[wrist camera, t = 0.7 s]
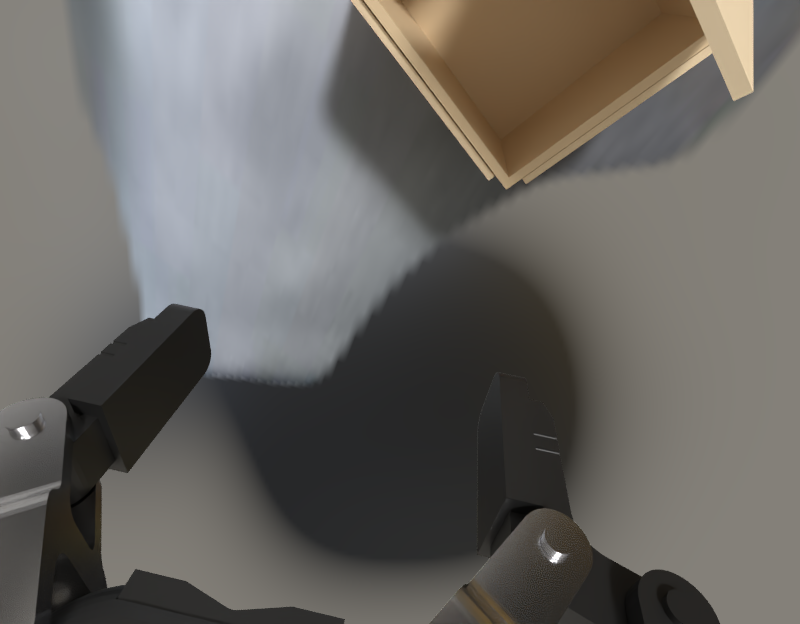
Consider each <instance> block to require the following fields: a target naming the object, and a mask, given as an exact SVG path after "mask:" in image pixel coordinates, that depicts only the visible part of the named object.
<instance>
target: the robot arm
mask: <svg viewBox="0 0 800 624" xmlns="http://www.w3.org/2000/svg"><path fill="white" fill-rule="evenodd" d="M210 359H211V348H210V342H209V336H208V329H207V323H206V317H205V313H204V311H203V310H201V309H197V308H193V307H188V306H183V305H178V304H171V305H169V306H168V307H167V308H165V309H164V310H163V311H162V312H161V313H160V314H159V315H158V316H157V317H156V318H155V319H152V318H148V319H146V320H143V321H141V322H139V323H137V324H135V325H133V326H131V327H129V328H128V329H127V330H125V331H124V332H123V333H122V334H121V335H120V336H119V337H117V338H116V339H115V340H114V343H113V344H109V345H108V346H107V347H106V348H105V349H104V350H103V351H101V354H100V355H97V356H96V357H95V358H93V359H92V360H91V361H90V362H89V363H88V364H87V365H85V366H84V367H83V368H82V369H81V370H80V371H79V372H77V373H76V374H75V375H74V376H73V377H72V378H71V379H69V380H68V381H67V382H66V383H65V384H64V385H63V386H62V387H60V388H59V389H58V390H57V391H56V392H55V393H54V394H52V395H51V396H50V397H49V398H48V397H39V398H32V399H27V400H23V401H20V402H17V403H14V404H12V405H10V406H8V407H6V408H4V409H2V410H1V411H0V624H344V620H345V619H341V618H337V617H333V616H329V615H325V614H321V613H316V612H312V611H308V610H304V609H300V608H295V607H283V608H282V607H281V608H266V609H250V610H231V609H229V608H227V607H225V606H224V605H222V604H220V603H219V602H217V601H216V600H214V599H213V598H211V597H209V596H208V595H207V594H205V593H203V592H202V591H200V590H199V589H197V588H196V587H194V586H192V585H191V584H189V583H188V582H186V581H183V580H179V579H174V578H170V577H166V576H162V575H158V574H153V573H149V572H145V571H141V570H137V569H136V570H135V571H134V572H133V574H132V575H131V577H130V579H129V581H128V582H127V583H126V585H121V586H116V587H110V588H107V583H106V577H105V573H104V569H103V565H102V555H101V528H102V527H101V526H102V524H101V523H102V486H101V482H100V478H101V477H102V476H103V475H104V473H105V472H106V471H107V470H108V469H113V470H117V471H121V472H125V473H128V472H129V471H130V469H131V468H132V467H133V465H134V464H135V463H136V461H137V460H138V459H139V458H140V456H141V455H142V454H143V453H144V451H145V450H146V449H147V447H148V446H149V445H150V443H151V442H152V441H153V440H154V438H155V437H156V436H157V434H158V433H159V432H160V431H161V429H162V428H163V427H164V425H165V424H166V423H167V421H168V420H169V419H170V418H171V416H172V415H173V414H174V412H175V411H176V410H177V409H178V407H179V406H180V405H181V404H182V402H183V401H184V400H185V398H186V397H187V396H188V395H189V393H190V392H191V391H192V389H193V388H194V387H195V386H196V384H197V383H198V382H199V380H200V379H201V378H202V377H203V375H204V374H205V372H206V371H207V369H208V366H209V363H210ZM556 438H557V435H556V430H555V425H554V419H553V418H552V416H551V415H550V413H549V411H548V410H547V408H546V407H545V405H544V404H543V402H540V401H535V400H530V399H529V394H528V386H527V381H526V379H525V378H522V377H518V376H513V375H508V374H503V373H499V372H497V373H496V374H495V376H494V378H493V381H492V384H491V386H490V389H489V392H488V394H487V397H486V400H485V403H484V406H483V408H482V411H481V414H480V418H479V424H478V440H477V442H478V443H477V459H478V461H477V555H480V556H485V557H489V558H490V559H489V560H488V561H487V563H486V564H485V565H484V566H483V567H482V568H481V569H480V571H479V572H478V573H477V574H476V575H475V577H474V578H473V579H472V580H471V581H470V582H469V583H468V584H465V585H463V586H462V587H461V588H460V589H459V590H458V591H457V592H456V593H455V594H454V595H453V596H452V598H451V599H450V600H449V601H448V602H447V603H446V605H445V606H444V607H443V608H442V610H440V612H439V613H438V614H437V615H436V616H435V617H434V618H433V620H432V621H431V622H430V623H429V624H720V623H719V620H718V618H717V616H716V614H715V612H714V610H713V608H712V607H711V605H710V604H709V603H708V601H707V600H706V599H705V597H704V596H703V595H702V594H701V593H700V592H699V591H698V590H697V589H696V588H695V587H694V586H693V585H691V584H690V583H689V582H688V581H686V580H685V579H683V578H681V577H680V576H678V575H676V574H674V573H672V572H669V571H665V570H651V571H649V572H647V573H645V574H644V575H643V576H642V577H641V576H639V575H638V574H636V573H634V572H632V571H630V570H629V569H627V568H625V567H623V566H621V565H619V564H618V563H616V562H614V561H612V560H610V559H608V558H607V557H605V556H604V555H602V554H601V553H599V552H598V551H597V550H595V549H594V548H593V547H592V546H591V545H590V543H589V541H588V539H587V536H586V535H585V533H584V532H583V530H582V529H581V528H580V527H579V526H578V525H577V524H576V523H575V522H574V521H573V518H572V515H571V510H570V505H569V499H568V494H567V489H566V483H565V478H564V473H563V468H562V462H561V457H560V456H559V452H560V451H559V446H558V441H556Z"/></svg>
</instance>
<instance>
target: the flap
mask: <svg viewBox="0 0 800 624" xmlns="http://www.w3.org/2000/svg"><path fill="white" fill-rule="evenodd" d="M690 2H691V4H692V7H693V9H694V11H695V14H696V16H697V18H698V21H699V23H700V25H701V27H702V30H703V32H704V34H705V37H706V39H707V41H708V44H709V46H710V48H711V50H712V53H713V55H714V57H715V60H716V62H717V64H718V67H719V69H720V71H721V73H722V76H723V78H724V80H725V83H726V85H727V87H728V90H729V92H730V94H731V96H732V99H733V101H735V100H737V99H739V98H741V97H743V96H746V95H748V94H750V93H752V92H753V0H690Z"/></svg>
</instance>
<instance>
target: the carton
mask: <svg viewBox="0 0 800 624" xmlns="http://www.w3.org/2000/svg"><path fill="white" fill-rule="evenodd" d="M351 1H352V3H353V4H354V5H355V7H356V8H357V9H358V11H359V12H360V13H361V14H362V16H363V17H364V18H365V20H366V21H367V22H368V24H369V25H370V26H371V28H372V29H373V30H374V31H375V33H376V34H377V35H378V37H379V38H380V39H381V41H382V42H383V43H384V45H385V46H386V47H387V48H388V50H389V51H390V52H391V54H392V55H393V56H394V58H395V59H396V60H397V61H398V63H399V64H400V65H401V67H402V68H403V69H404V71H405V72H406V73H407V75H408V76H409V77H410V78H411V80H412V81H413V82H414V84H415V85H416V86H417V88H418V89H419V90H420V92H421V93H422V94H423V95H424V97H425V98H426V99H427V101H428V102H429V103H430V105H431V106H432V107H433V109H434V110H435V111H436V112H437V114H438V115H439V116H440V118H441V119H442V120H443V122H444V123H445V124H446V126H447V127H448V128H449V129H450V131H451V132H452V133H453V135H454V136H455V137H456V139H457V140H458V141H459V143H460V144H461V145H462V146H463V148H464V149H465V150H466V152H467V153H468V154H469V156H470V157H471V158H472V159H473V161H474V162H475V163H476V165H477V166H478V167H479V169H480V170H481V171H482V173H483V174H484V175H485V176H486V178H487V179H488V180H490V179H492V178H493V177H494V174H495V175H496V177H497V178H498V179H499V181H500V182H501V183H502V185H503V186H504V187H505V189H506V190H507V189H508V188H509V187H511V186H512V185H514V184H515V183H516V182H518V181H519V180H521V179H523V181H524V182H525V184H527V183H529V182H530V181H531V180H533V179H534V178H536V177H537V176H539V175H540V174H541V173H543V172H544V171H546V170H547V169H548V168H550V167H551V166H553V165H554V164H556V163H557V162H558V161H560V160H561V159H563V158H564V157H566V156H567V155H568V154H570V153H571V152H573V151H574V150H575V149H577V148H578V147H580V146H581V145H583V144H584V143H585V142H587V141H588V140H590V139H591V138H593V137H594V136H595V135H597V134H598V133H600V132H601V131H602V130H604V129H605V128H607V127H608V126H610V125H611V124H612V123H614V122H615V121H617V120H618V119H620V118H621V117H622V116H624V115H625V114H627V113H628V112H629V111H631V110H632V109H634V108H635V107H637V106H638V105H639V104H641V103H642V102H644V101H645V100H647V99H648V98H649V97H651V96H652V95H654V94H655V93H656V92H658V91H659V90H661V89H662V88H664V87H665V86H666V85H668V84H669V83H671V82H672V81H674V80H675V79H676V78H678V77H679V76H681V75H682V74H683V73H685V72H686V71H688V70H689V69H691V68H692V67H693V66H695V65H696V64H698V63H699V62H701V61H702V60H703V59H705V58H706V57H708V56H709V55H710V54H712V50H711V48H710V46H709V44H708V41H707V39H706V37H705V34H704V32H703V30H702V27H701V25H700V23H699V21H698V18H697V16H696V14H695V11H694V9H693V7H692V4H691V2H690V0H351Z"/></svg>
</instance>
